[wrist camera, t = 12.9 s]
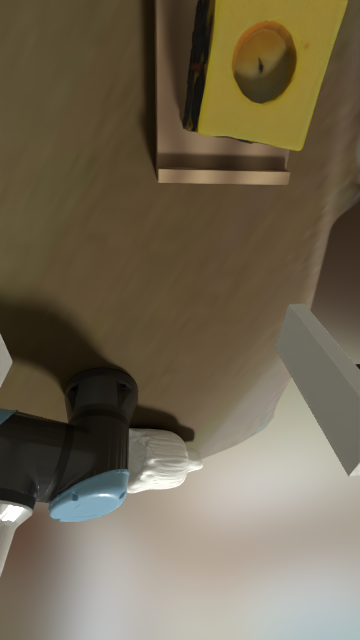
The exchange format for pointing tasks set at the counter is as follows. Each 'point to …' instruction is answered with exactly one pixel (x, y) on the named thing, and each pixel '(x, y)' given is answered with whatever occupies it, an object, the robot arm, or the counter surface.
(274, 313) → the counter surface
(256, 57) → the candle
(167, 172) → the display stand
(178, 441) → the mask
